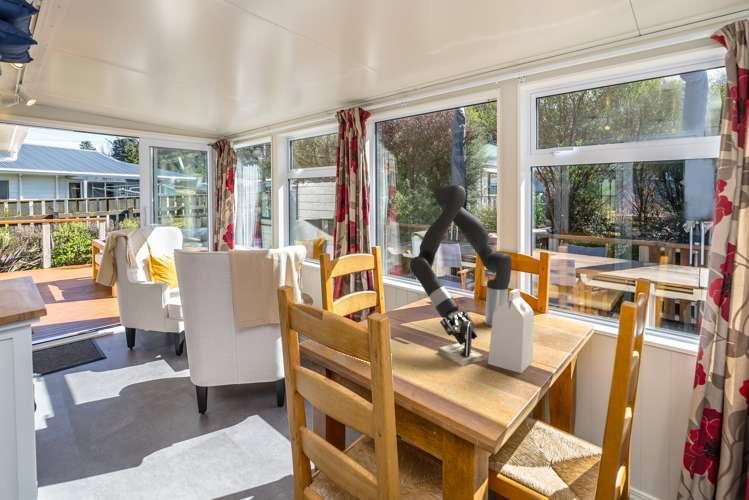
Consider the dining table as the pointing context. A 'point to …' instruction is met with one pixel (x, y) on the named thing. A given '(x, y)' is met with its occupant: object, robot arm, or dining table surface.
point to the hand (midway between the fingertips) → (469, 340)
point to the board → (455, 354)
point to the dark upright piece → (466, 337)
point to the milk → (512, 334)
